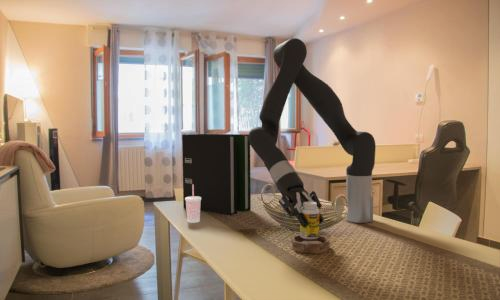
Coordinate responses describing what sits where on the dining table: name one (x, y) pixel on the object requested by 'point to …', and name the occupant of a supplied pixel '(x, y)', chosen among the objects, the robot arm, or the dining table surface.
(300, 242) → the collar dish
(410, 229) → the dining table surface
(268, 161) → the robot arm
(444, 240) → the dining table surface
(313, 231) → the supplement bottle
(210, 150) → the binder
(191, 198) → the beverage cup
